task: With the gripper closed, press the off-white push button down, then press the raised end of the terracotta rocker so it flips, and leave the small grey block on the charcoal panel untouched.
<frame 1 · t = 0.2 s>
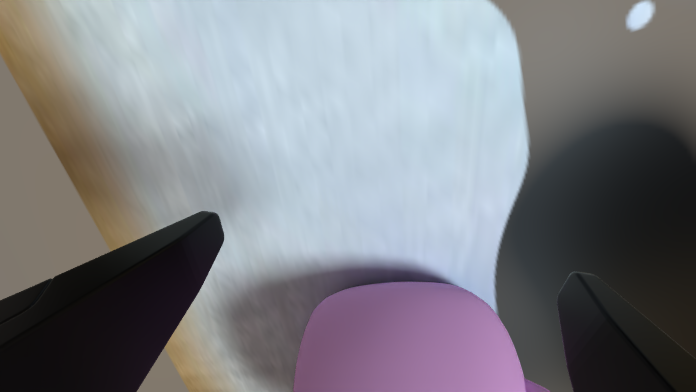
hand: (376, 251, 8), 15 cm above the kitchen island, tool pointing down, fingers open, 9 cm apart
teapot: (417, 345, 28), on the kitchen island
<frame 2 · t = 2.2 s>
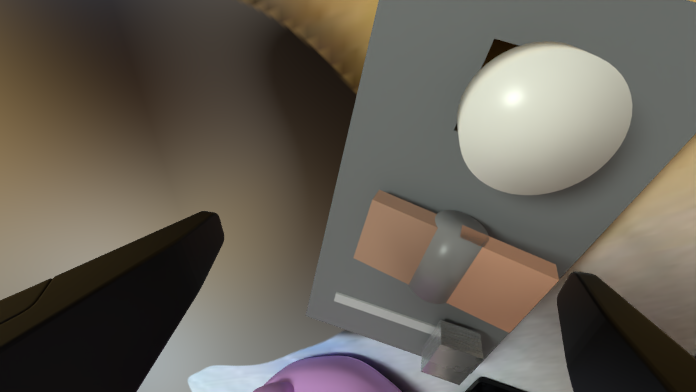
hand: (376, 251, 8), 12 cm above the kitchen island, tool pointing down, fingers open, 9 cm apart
button: (526, 114, 13), point 4 cm above the kitchen island, slide at 0.0 cm
rocker: (444, 257, 19), point 4 cm above the kitchen island, hinge at 10.0°
small grey block: (450, 352, 24), point 4 cm above the kitchen island, slide at -4.0 cm
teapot: (340, 381, 38), on the kitchen island
panel: (446, 213, 21), on the kitchen island
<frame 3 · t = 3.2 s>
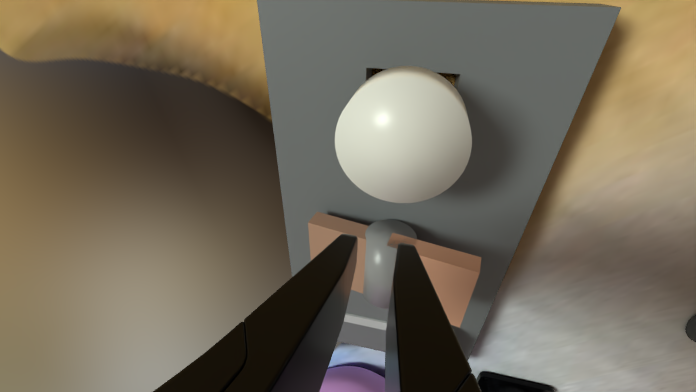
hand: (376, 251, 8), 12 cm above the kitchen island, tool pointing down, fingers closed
button: (403, 129, 15), point 4 cm above the kitchen island, slide at 0.0 cm
rocker: (387, 264, 20), point 4 cm above the kitchen island, hinge at 10.0°
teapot: (356, 391, 39), on the kitchen island
panel: (394, 220, 23), on the kitchen island
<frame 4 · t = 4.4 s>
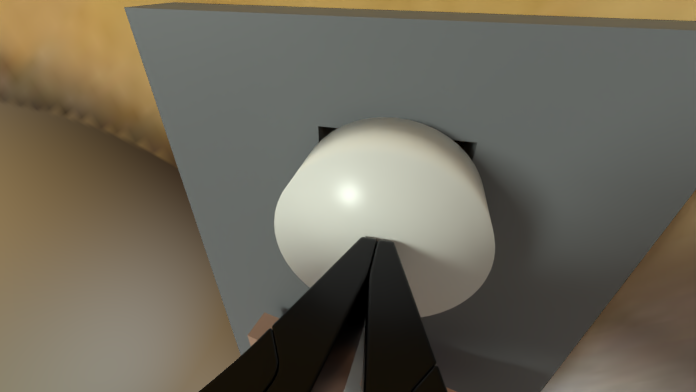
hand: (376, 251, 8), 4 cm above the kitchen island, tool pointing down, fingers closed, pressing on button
button: (386, 205, 10), point 2 cm above the kitchen island, slide at 1.5 cm, touching gripper
rocker: (364, 391, 14), point 4 cm above the kitchen island, hinge at 10.0°
panel: (378, 310, 17), on the kitchen island
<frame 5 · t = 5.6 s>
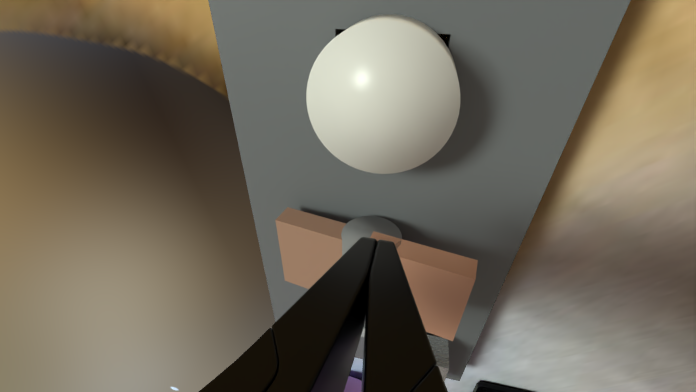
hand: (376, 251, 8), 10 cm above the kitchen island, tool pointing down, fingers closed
button: (386, 91, 13), point 2 cm above the kitchen island, slide at 1.6 cm
rocker: (369, 267, 17), point 4 cm above the kitchen island, hinge at 10.0°
small grey block: (420, 363, 22), point 3 cm above the kitchen island, slide at -4.0 cm
panel: (379, 217, 20), on the kitchen island
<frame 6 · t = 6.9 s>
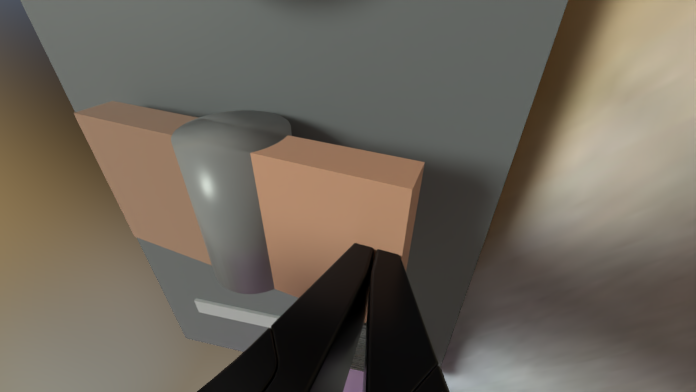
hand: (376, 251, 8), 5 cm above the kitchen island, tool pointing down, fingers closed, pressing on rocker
rocker: (248, 203, 10), point 4 cm above the kitchen island, hinge at 9.9°, touching gripper
small grey block: (365, 371, 14), point 3 cm above the kitchen island, slide at -4.0 cm
panel: (291, 137, 13), on the kitchen island
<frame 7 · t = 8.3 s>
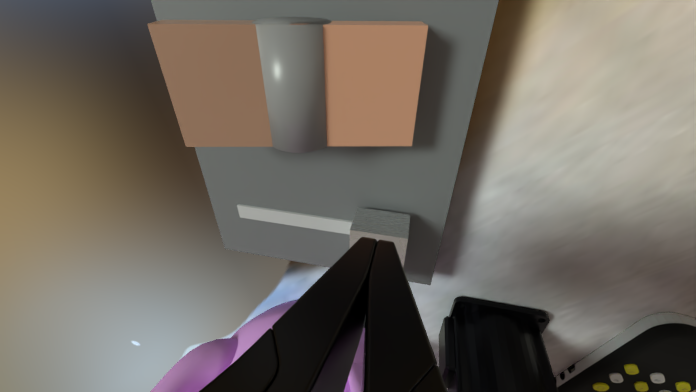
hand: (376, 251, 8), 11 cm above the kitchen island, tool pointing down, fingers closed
rocker: (297, 85, 13), point 4 cm above the kitchen island, hinge at -13.9°
remote control: (627, 358, 25), on the kitchen island
small grey block: (378, 248, 18), point 3 cm above the kitchen island, slide at -4.0 cm
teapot: (314, 340, 33), on the kitchen island
panel: (322, 54, 16), on the kitchen island
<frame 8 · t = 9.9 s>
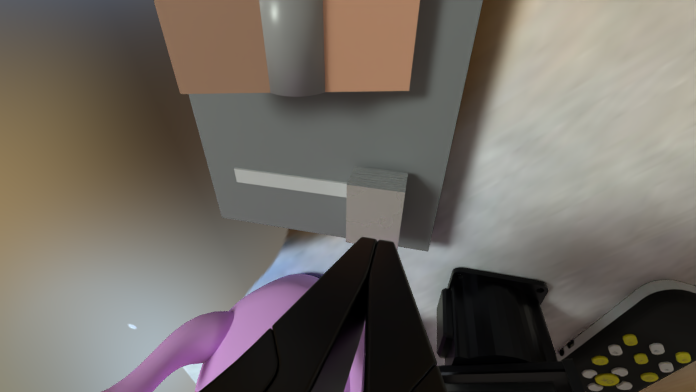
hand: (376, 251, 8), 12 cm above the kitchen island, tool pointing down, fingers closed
rocker: (294, 28, 13), point 4 cm above the kitchen island, hinge at -18.0°, touching panel
remote control: (626, 332, 25), on the kitchen island
small grey block: (375, 208, 18), point 3 cm above the kitchen island, slide at -4.0 cm
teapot: (312, 319, 32), on the kitchen island
panel: (320, 7, 16), on the kitchen island
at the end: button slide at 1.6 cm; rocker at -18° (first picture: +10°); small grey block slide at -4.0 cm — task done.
